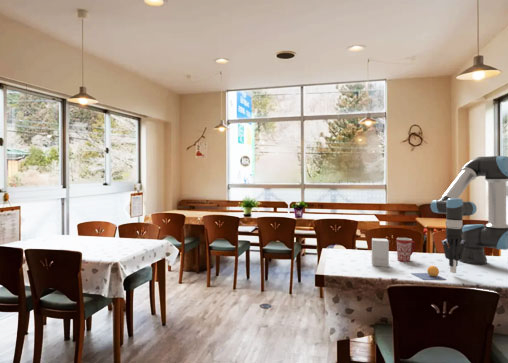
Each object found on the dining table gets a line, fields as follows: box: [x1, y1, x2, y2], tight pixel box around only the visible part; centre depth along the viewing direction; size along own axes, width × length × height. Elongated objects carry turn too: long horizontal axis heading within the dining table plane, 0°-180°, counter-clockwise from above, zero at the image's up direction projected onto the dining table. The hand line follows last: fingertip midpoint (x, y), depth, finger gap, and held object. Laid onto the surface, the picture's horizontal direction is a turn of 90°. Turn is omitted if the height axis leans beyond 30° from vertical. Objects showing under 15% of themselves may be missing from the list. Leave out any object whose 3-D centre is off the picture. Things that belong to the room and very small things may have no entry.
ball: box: [426, 265, 440, 277], centre depth 189 cm, size 6×6×6 cm
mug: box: [396, 237, 416, 263], centre depth 225 cm, size 13×9×14 cm
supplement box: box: [371, 237, 390, 268], centre depth 213 cm, size 9×9×15 cm
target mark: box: [410, 272, 447, 281], centre depth 189 cm, size 12×12×1 cm
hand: (453, 272), depth 190 cm, fingers closed
